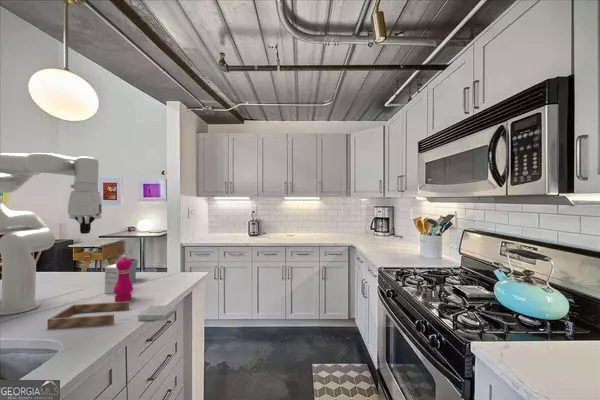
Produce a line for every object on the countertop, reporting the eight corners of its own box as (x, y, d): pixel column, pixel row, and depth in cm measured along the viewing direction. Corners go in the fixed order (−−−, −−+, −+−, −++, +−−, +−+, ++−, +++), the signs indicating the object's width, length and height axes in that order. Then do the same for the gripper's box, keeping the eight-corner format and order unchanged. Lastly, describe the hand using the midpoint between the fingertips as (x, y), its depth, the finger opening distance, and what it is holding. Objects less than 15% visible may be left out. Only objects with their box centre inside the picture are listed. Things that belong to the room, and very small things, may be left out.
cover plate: (138, 321, 99) (138, 315, 99) (150, 312, 108) (150, 305, 108) (165, 321, 99) (165, 315, 99) (175, 311, 108) (175, 305, 108)
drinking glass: (121, 279, 150) (122, 258, 151) (140, 279, 151) (141, 257, 152) (111, 284, 140) (111, 262, 140) (131, 284, 141) (132, 261, 142)
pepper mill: (123, 303, 115) (124, 256, 116) (109, 301, 117) (110, 256, 117) (136, 297, 122) (137, 253, 123) (123, 296, 124) (124, 253, 124)
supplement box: (115, 288, 134) (115, 263, 135) (129, 288, 134) (129, 263, 134) (103, 293, 127) (104, 266, 127) (118, 293, 127) (119, 267, 127)
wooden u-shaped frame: (47, 328, 91) (47, 319, 91) (73, 312, 105) (73, 304, 105) (112, 324, 96) (112, 315, 96) (129, 308, 109) (129, 301, 109)
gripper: (58, 186, 102) (57, 234, 102) (102, 187, 105) (101, 234, 105) (70, 188, 110) (69, 232, 109) (111, 188, 113) (110, 232, 112)
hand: (85, 233), depth 107 cm, fingers closed
